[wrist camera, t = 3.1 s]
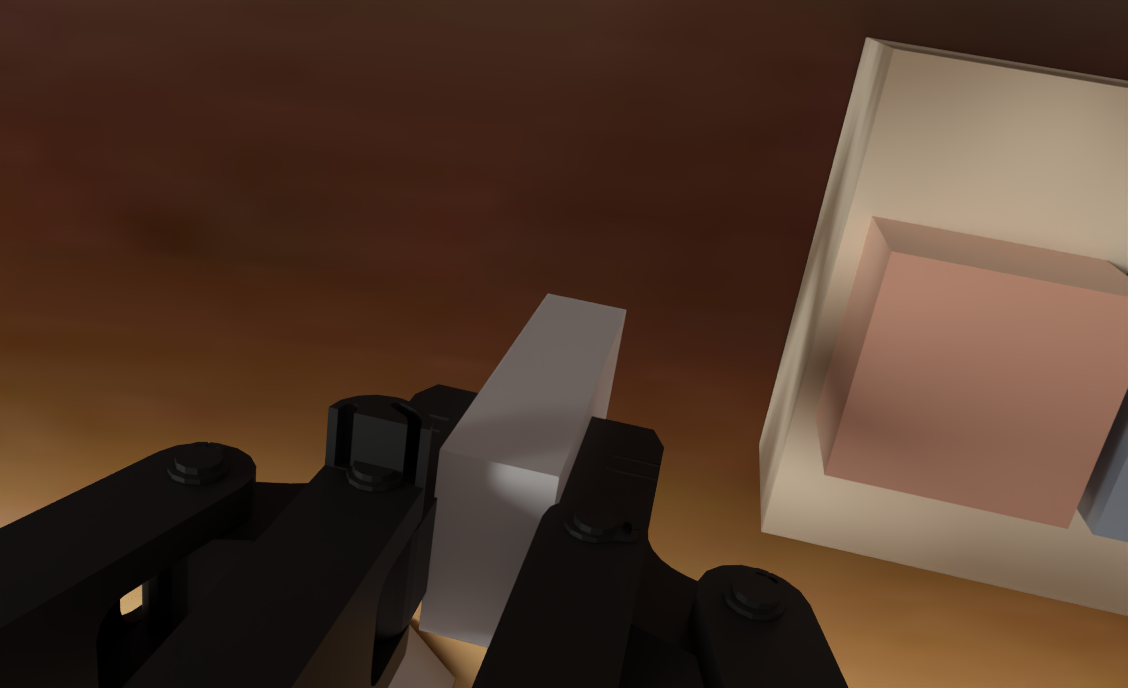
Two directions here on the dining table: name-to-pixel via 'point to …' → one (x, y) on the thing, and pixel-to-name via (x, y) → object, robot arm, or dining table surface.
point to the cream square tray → (967, 205)
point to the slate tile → (1109, 483)
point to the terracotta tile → (975, 371)
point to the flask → (421, 667)
